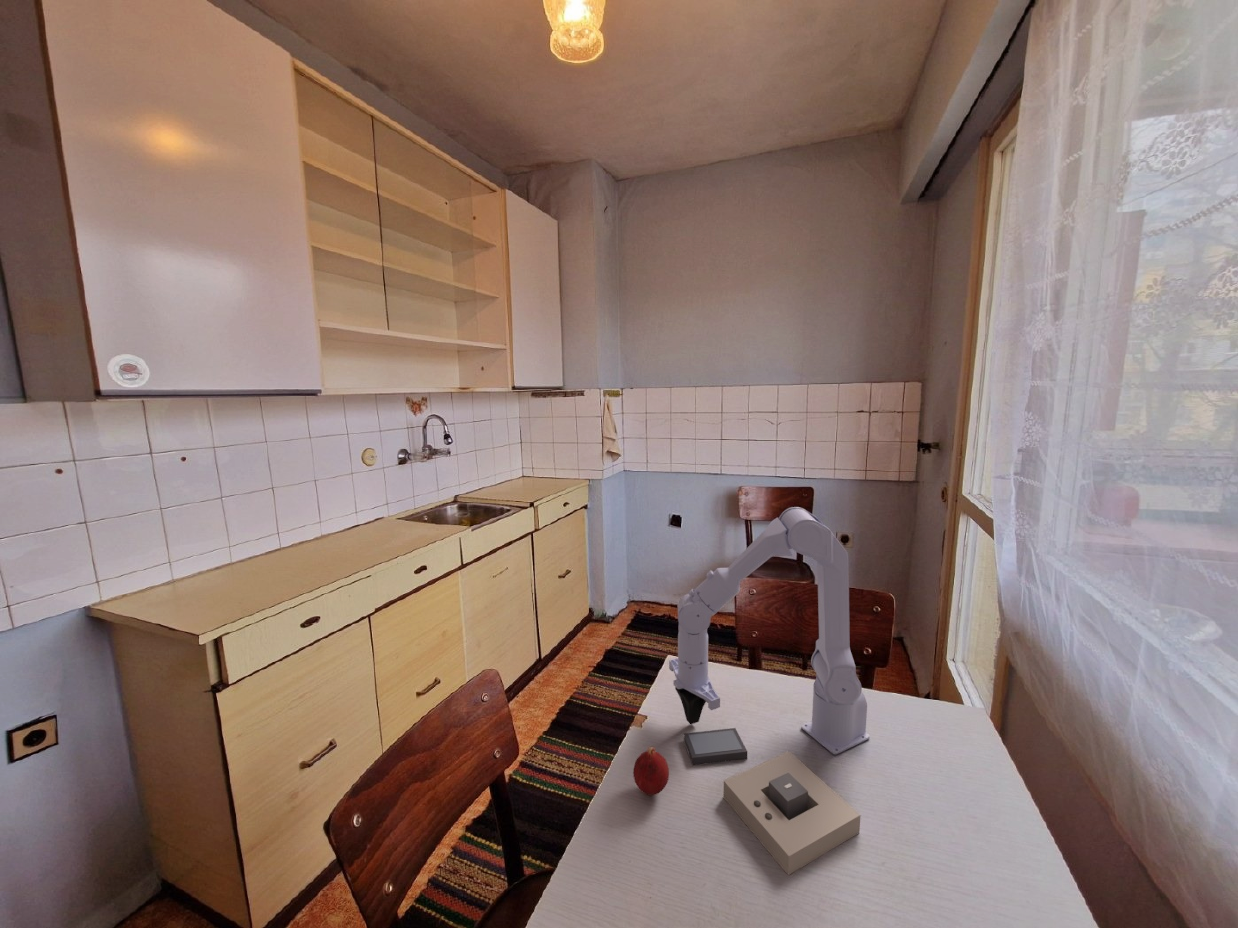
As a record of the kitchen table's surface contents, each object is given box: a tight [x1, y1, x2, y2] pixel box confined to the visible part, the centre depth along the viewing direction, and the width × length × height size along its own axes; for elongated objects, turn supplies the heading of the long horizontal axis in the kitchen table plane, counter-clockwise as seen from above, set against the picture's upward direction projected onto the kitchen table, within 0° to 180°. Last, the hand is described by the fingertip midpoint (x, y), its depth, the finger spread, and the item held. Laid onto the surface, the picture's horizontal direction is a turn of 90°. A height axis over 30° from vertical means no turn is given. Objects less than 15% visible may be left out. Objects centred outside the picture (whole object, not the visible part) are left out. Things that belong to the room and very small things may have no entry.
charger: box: [768, 773, 808, 820], centre depth 73 cm, size 4×4×5 cm
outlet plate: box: [722, 751, 861, 876], centre depth 73 cm, size 14×14×3 cm
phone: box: [683, 727, 748, 766], centre depth 87 cm, size 10×6×2 cm, turn 97°
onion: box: [632, 746, 670, 796], centre depth 77 cm, size 6×6×8 cm
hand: (692, 720), depth 93 cm, fingers closed
